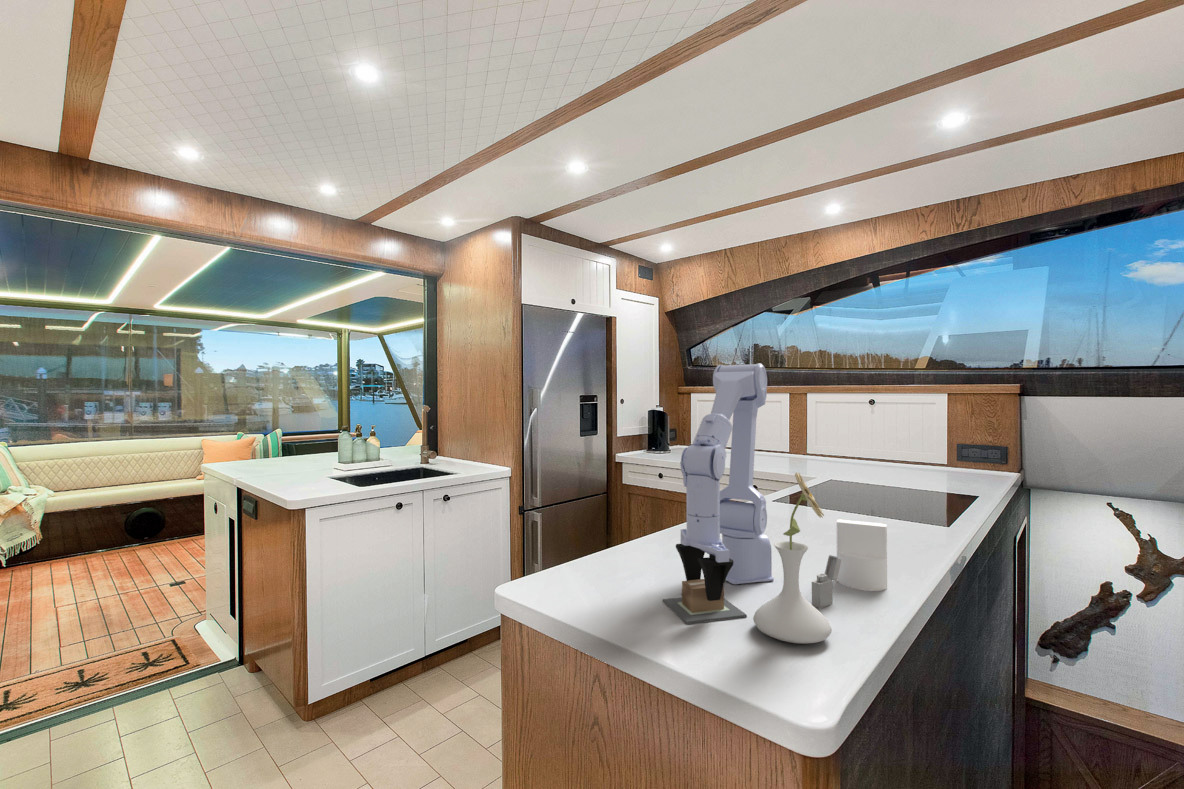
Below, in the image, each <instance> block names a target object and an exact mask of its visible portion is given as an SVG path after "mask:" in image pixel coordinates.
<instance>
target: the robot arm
mask: <svg viewBox="0 0 1184 789" xmlns="http://www.w3.org/2000/svg"><path fill="white" fill-rule="evenodd" d="M712 385H713V386H712V387H713V388H714V391H715V397H714V400H713V404H712V408H711V411H710V414H709V413H708V414H706V415H704V416H703V417H702V419H701V421H700V424H699V426H698V429H697V432H696V433H695V437H694V439H693V441H692V444H689V445H688V446H687V447H685V448H684V449H682V453H681V457H680V470H681V474H682V478H683V480H682V481H683V482H682V483H683V487H685V489H686V528H683V529H680V543H677V544H675V549H676V551H677V553H678V554H679V556H680V558H681V559H680V560H681V562H682V566H683V570H684V575H685V579H686V580H685V581H689V580H699V579H702V578H701V577H702V575H703V579H704V580H705V590H706V596H707V600H709V601H714V600H720V598H721V594H722V590H723V586H724V587H725V582H726V581H727V582H729V583H730V584H731V585H739V584H741V585H742V584H750V583H751V584H752V583H760V582H770V581H774V580H775V577H773V576H772V564H773V563H772V558H773V557H772V556H773V555H772V553H773V552H772V544H771V541H770V538H769V537H768V536H767V535H766V534H765V533H764V532H765V531H766V529H767V524H768V512H767V500H766V498H765V497H764V495H763V494H762V493H761V492H759V491H758V489H756V488H755V487H754V481H753V480H754V470H755V469H754V466H755V453H756V452H755V451H756V450H755V449H756V432H757V431H756V430H757V417H758V411H759V408H762V407H763V406H765V405H766V401H767V392H768V391H767V390H768V376H767V370H766V367H765V366H764V365H763V363H759V362H758V363H756V364H755V363H751V364H729V365H728V364H727V365H723V364H718V365H716V367H715V368H714V370H713V374H712ZM731 418H732V423H731V421H730V419H731ZM730 436H731V443H730V444H731V445H730V458H729V459H730V462H729V476H728V485H727V486H726V487H724V488H723V489H721V488H720V486H721V485H720V482H721V481H720V480H721V479H722V478H723V476H724V473H725V468H726V459H727V452H726V447H727V445H728V442H729V439H730ZM733 499H734V500H733ZM736 500H744V501H736ZM745 501H750V502H745ZM720 534H721V536H720ZM720 537H721V538H720ZM705 554H708V557H705Z"/></svg>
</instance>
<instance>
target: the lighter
mask: <svg viewBox="0 0 1184 789" xmlns="http://www.w3.org/2000/svg"><path fill="white" fill-rule="evenodd" d="M840 564H841V559H840V558H838V557H837V556H835V555H831V554H829V555H828V558H827V563H826V566H825V571H824V573H819V574H816V579H813V580H812V581H811V605H812V606H814V607H815V608H816V609H817V608H818V609H820V610H821V609H823V608H825V607H828V606H830V605H833V598H834V596H833V593H834V592H833V582H838V581H837V577H838V573H839V568H840Z"/></svg>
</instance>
